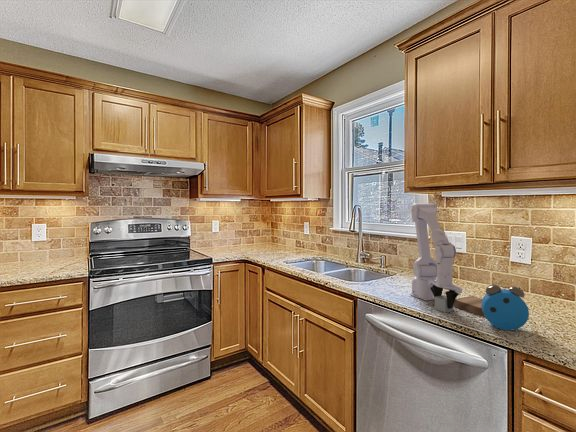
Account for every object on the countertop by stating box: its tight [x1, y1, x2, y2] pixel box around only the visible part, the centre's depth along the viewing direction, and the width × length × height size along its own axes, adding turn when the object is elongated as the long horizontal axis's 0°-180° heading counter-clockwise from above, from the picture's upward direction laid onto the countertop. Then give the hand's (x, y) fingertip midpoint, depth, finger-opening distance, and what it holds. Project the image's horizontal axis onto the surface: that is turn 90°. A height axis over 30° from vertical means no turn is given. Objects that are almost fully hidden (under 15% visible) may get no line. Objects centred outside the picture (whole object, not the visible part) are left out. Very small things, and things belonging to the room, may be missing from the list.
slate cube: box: [434, 294, 455, 313], centre depth 128 cm, size 5×5×5 cm
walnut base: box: [454, 295, 485, 316], centre depth 129 cm, size 12×12×3 cm
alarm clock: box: [481, 284, 530, 331], centre depth 109 cm, size 13×6×15 cm, turn 66°
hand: (444, 306), depth 128 cm, fingers closed on slate cube, 5 cm apart
